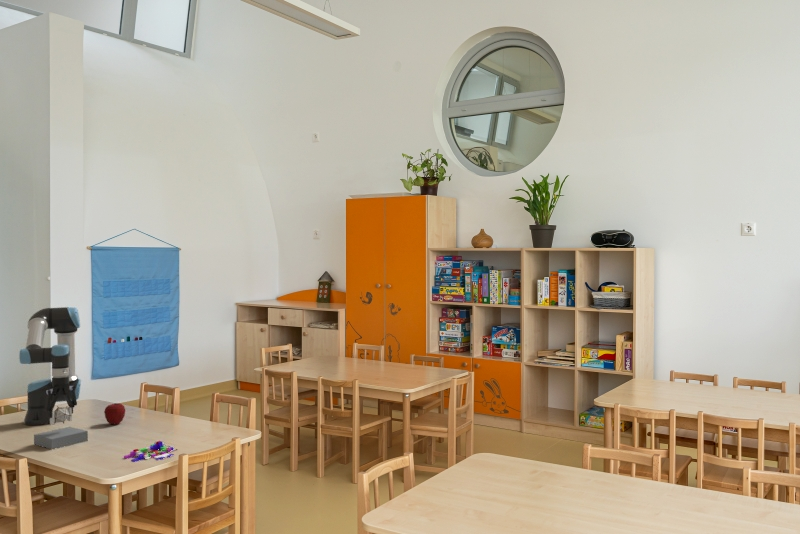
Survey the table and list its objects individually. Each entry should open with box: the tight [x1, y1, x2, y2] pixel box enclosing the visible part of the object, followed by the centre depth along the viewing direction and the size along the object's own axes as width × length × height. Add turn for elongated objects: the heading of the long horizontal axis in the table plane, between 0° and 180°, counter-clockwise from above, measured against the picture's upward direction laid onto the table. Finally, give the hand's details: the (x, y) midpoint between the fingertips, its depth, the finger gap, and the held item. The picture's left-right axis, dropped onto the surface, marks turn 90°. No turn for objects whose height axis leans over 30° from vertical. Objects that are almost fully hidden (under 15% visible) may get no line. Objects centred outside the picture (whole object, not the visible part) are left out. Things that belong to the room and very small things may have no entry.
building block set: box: [123, 440, 175, 463], centre depth 302 cm, size 25×20×4 cm
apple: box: [104, 402, 126, 425], centre depth 360 cm, size 11×11×12 cm
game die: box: [53, 405, 73, 424], centre depth 322 cm, size 9×8×10 cm
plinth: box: [33, 426, 89, 450], centre depth 322 cm, size 16×18×5 cm
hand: (60, 422), depth 322 cm, fingers closed on game die, 8 cm apart
